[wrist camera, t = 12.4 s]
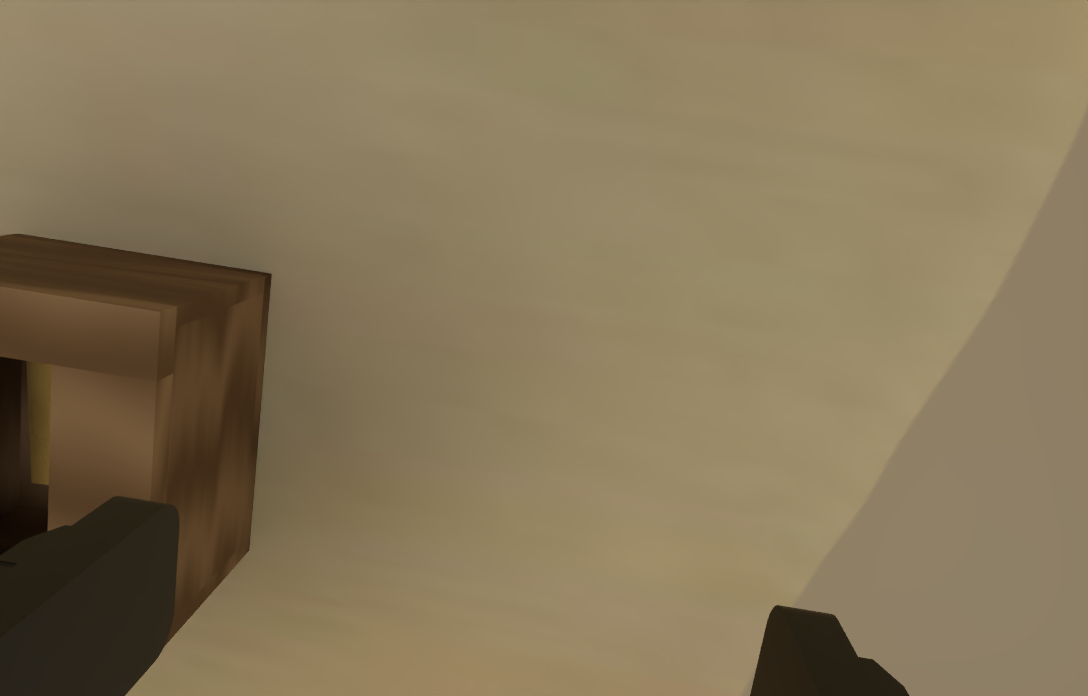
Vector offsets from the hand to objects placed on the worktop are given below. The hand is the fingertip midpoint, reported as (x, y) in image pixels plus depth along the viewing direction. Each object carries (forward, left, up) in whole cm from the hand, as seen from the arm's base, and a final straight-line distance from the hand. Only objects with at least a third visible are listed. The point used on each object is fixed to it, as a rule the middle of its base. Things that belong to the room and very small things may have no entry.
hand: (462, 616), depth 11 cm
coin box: (+8, -19, -28) cm, 35 cm away
